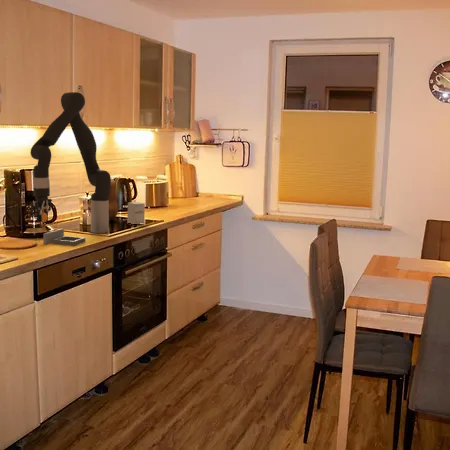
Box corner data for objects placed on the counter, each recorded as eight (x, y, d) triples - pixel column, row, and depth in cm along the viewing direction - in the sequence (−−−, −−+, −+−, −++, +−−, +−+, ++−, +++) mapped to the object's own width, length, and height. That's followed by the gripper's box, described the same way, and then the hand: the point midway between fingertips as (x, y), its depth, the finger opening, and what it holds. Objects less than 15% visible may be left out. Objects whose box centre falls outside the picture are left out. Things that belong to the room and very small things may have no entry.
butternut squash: (90, 221, 354) (91, 179, 350) (101, 218, 367) (101, 177, 363) (112, 223, 351) (112, 180, 346) (122, 220, 363) (122, 178, 359)
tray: (65, 239, 297) (65, 235, 296) (85, 242, 294) (85, 237, 293) (53, 243, 286) (53, 239, 286) (73, 246, 283) (73, 241, 283)
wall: (61, 238, 300) (61, 228, 299) (63, 238, 300) (63, 228, 299) (43, 243, 285) (43, 233, 284) (45, 244, 285) (45, 233, 284)
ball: (40, 221, 298) (40, 211, 297) (49, 221, 297) (49, 211, 296) (35, 222, 294) (34, 212, 293) (44, 223, 292) (43, 213, 291)
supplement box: (133, 225, 346) (134, 203, 344) (127, 223, 352) (127, 202, 350) (144, 224, 351) (145, 203, 349) (137, 222, 357) (138, 201, 354)
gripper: (43, 184, 300) (44, 218, 303) (26, 187, 286) (27, 222, 289) (56, 185, 298) (57, 219, 301) (39, 188, 284) (40, 224, 287)
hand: (42, 220), depth 295 cm, fingers closed on ball, 5 cm apart
